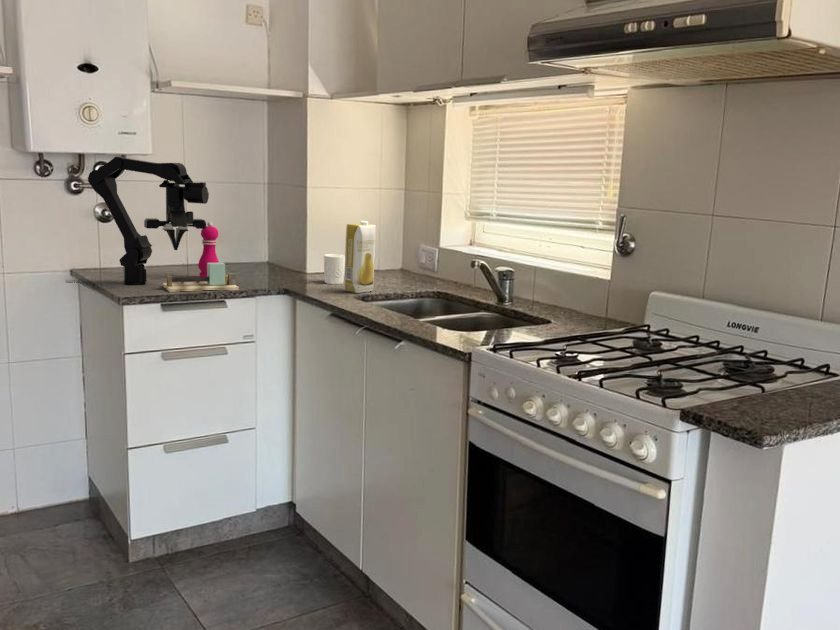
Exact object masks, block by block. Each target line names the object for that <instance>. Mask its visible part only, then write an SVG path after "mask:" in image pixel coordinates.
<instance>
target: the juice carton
mask: <svg viewBox="0 0 840 630" xmlns="http://www.w3.org/2000/svg"><path fill="white" fill-rule="evenodd" d="M344 250H345V251H344V255H345V274H344V283H343V284H344V291H346V292H349V293H355V294H360V293H361V294H362V293H370V291H371V292H373V291H374V280H375V279H374V278H375V277H374V276H375V258H376V257H375V253H376V225H375V224H371V223H369V221H367V220H360V223H348V224H347V223H346V228H345V249H344Z"/></svg>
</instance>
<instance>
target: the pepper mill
mask: <svg viewBox="0 0 840 630" xmlns="http://www.w3.org/2000/svg"><path fill="white" fill-rule="evenodd" d="M200 235H201V238H202V240H201V241H202V242H201V244H202V245H203V249H202V254H201V256H200V258H199V261H198V264H197V266H198V269H199V270H200V272H199V276H198V277H207V263H220V262H219V261H220V260H219V259H218V257H217V253H216V245H217V242H218V241H217V239H218V237H219V229H217V228H216V227H215V226H213V222H212V221H207V222H206V229H201V231H200Z"/></svg>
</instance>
